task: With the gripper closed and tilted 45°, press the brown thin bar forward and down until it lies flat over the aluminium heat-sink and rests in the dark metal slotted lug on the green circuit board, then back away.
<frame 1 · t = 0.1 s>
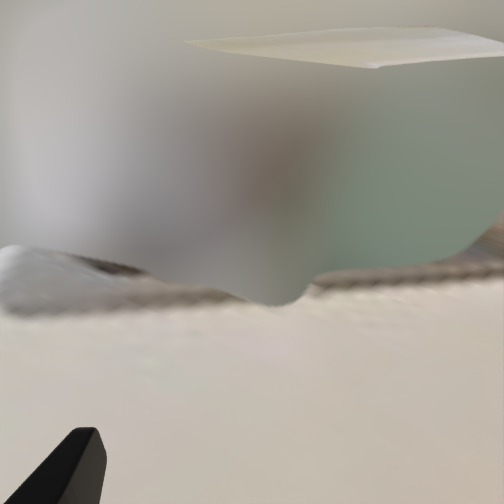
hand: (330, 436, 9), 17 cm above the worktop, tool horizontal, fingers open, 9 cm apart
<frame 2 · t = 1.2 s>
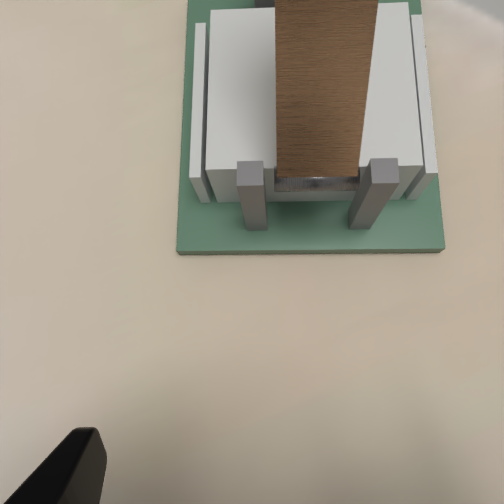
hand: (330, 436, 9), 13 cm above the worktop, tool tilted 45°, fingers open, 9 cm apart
brown thin bar: (323, 33, 14), point 10 cm above the worktop, hinge at 35.0°
circuit board module: (304, 127, 25), on the worktop
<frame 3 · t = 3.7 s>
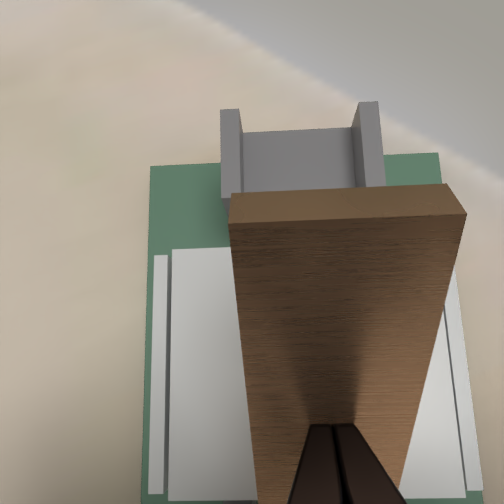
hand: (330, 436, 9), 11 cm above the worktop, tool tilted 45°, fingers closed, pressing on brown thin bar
brown thin bar: (326, 444, 10), point 10 cm above the worktop, hinge at 40.4°, touching gripper
circuit board module: (300, 351, 20), on the worktop
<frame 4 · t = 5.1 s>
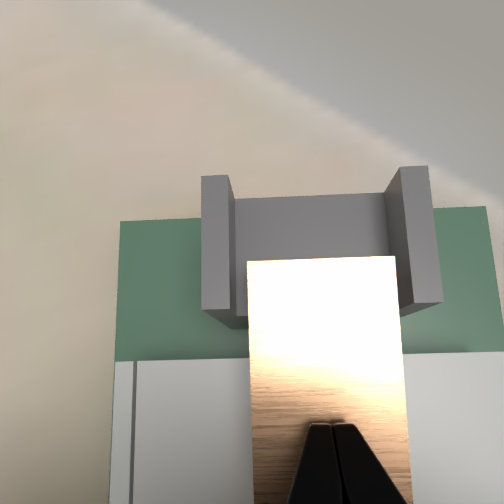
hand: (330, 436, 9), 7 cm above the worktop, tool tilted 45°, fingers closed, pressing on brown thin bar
circuit board module: (310, 465, 15), on the worktop
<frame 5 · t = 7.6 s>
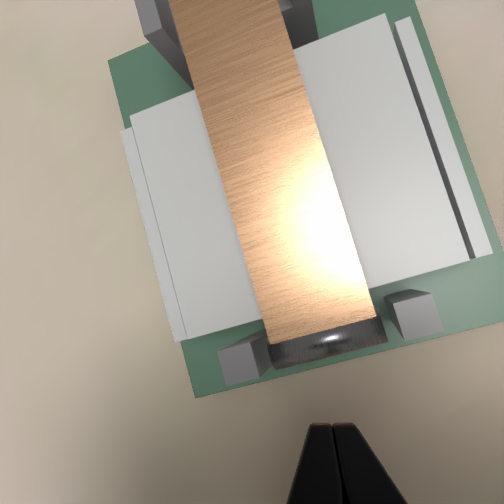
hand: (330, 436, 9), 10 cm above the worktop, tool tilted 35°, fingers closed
brown thin bar: (272, 162, 13), point 6 cm above the worktop, hinge at 86.8°
circuit board module: (299, 193, 19), on the worktop
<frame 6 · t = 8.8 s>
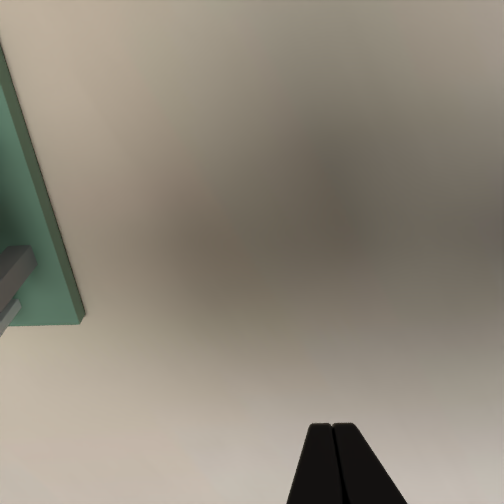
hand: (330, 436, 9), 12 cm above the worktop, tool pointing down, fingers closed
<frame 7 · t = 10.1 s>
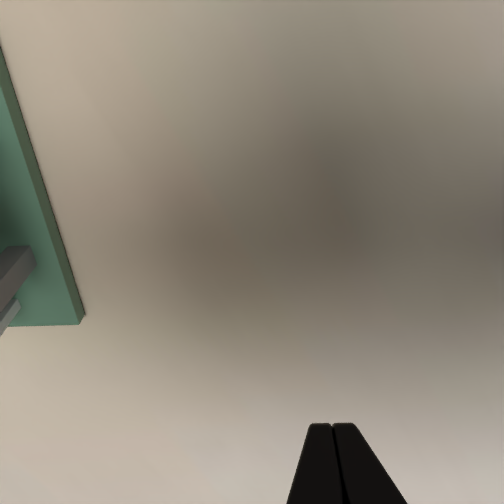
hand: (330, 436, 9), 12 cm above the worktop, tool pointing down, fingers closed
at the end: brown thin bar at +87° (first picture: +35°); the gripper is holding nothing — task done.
